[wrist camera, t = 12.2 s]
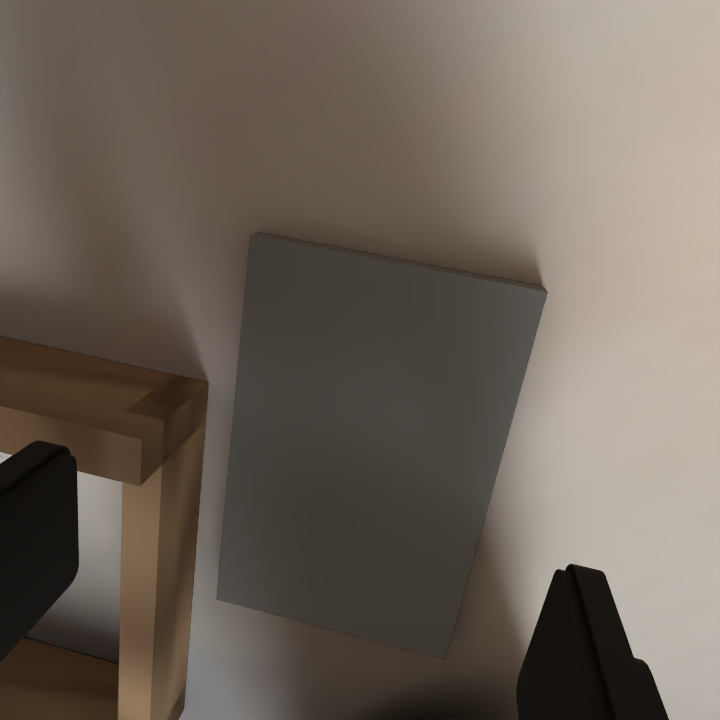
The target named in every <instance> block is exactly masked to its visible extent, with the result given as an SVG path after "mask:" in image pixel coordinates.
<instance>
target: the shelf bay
mask: <svg viewBox="0 0 720 720" xmlns="http://www.w3.org/2000/svg"><path fill="white" fill-rule="evenodd" d="M207 395H208V383H207V382H203V381H198V380H194V379H189V378H185V377H180V376H176V375H171V374H167V373H162V372H158V371H153V370H149V369H144V368H140V367H135V366H131V365H126V364H122V363H117V362H113V361H108V360H104V359H99V358H95V357H90V356H86V355H81V354H77V353H72V352H68V351H63V350H59V349H54V348H50V347H45V346H41V345H36V344H32V343H27V342H23V341H18V340H14V339H9V338H5V337H0V452H3V453H7V454H11V455H14V454H16V453H17V452H18V451H20V450H21V449H23V448H24V447H26V446H27V445H29V444H30V443H32V442H34V441H39V440H40V441H45V442H49V443H53V444H58V445H62V446H66V447H67V448H68V449H69V450H70V453H71V455H72V456H74V457H75V458H76V461H77V471H80V472H84V473H88V474H92V475H96V476H100V477H104V478H108V479H112V480H116V481H121V482H123V502H122V549H121V597H120V644H119V664H116V663H112V662H109V661H105V660H102V659H98V658H95V657H91V656H88V655H84V654H80V653H77V652H73V651H70V650H66V649H63V648H59V647H56V646H52V645H49V644H45V643H42V642H38V641H35V640H31V639H27V638H24V637H23V638H22V639H21V640H20V641H19V642H18V644H17V645H16V646H15V647H14V648H13V649H12V650H11V651H10V652H9V654H8V655H7V656H6V657H5V658H4V659H3V660H2V661H1V662H0V720H178V719H179V717H180V716H181V714H182V712H183V710H184V702H185V689H186V675H187V662H188V649H189V635H190V622H191V609H192V595H193V582H194V569H195V555H196V542H197V529H198V515H199V502H200V489H201V475H202V462H203V449H204V435H205V422H206V409H207Z"/></svg>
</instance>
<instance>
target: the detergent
mask: <svg viewBox="0 0 720 720" xmlns="http://www.w3.org/2000/svg"><path fill="white" fill-rule="evenodd" d="M420 720H461V719H458V718H454V717H448V716H440V715H434V716H431V717H428V718H421V719H420Z"/></svg>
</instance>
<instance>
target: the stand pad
mask: <svg viewBox="0 0 720 720" xmlns="http://www.w3.org/2000/svg"><path fill="white" fill-rule="evenodd" d="M546 296H547V290H546V289H545V287H543V286H538V285H532V284H527V283H522V282H517V281H511V280H506V279H501V278H496V277H490V276H485V275H480V274H475V273H470V272H464V271H459V270H454V269H449V268H443V267H438V266H433V265H428V264H422V263H417V262H412V261H407V260H401V259H396V258H391V257H386V256H380V255H375V254H370V253H365V252H359V251H354V250H349V249H344V248H339V247H333V246H328V245H323V244H318V243H312V242H307V241H302V240H297V239H291V238H286V237H281V236H276V235H270V234H265V233H260V232H258V233H255V234H252V235H250V243H249V253H248V264H247V275H246V285H245V296H244V307H243V318H242V328H241V339H240V350H239V361H238V371H237V382H236V393H235V404H234V414H233V425H232V436H231V447H230V457H229V468H228V479H227V490H226V500H225V511H224V522H223V532H222V543H221V554H220V565H219V575H218V586H217V597H216V599H217V600H221V601H225V602H229V603H232V604H236V605H240V606H244V607H248V608H251V609H255V610H259V611H263V612H266V613H270V614H274V615H278V616H282V617H285V618H289V619H293V620H297V621H300V622H304V623H308V624H312V625H316V626H319V627H323V628H327V629H331V630H334V631H338V632H342V633H346V634H349V635H353V636H357V637H361V638H365V639H368V640H372V641H376V642H380V643H383V644H387V645H391V646H395V647H399V648H402V649H406V650H410V651H414V652H417V653H421V654H425V655H429V656H433V657H436V658H440V659H444V660H445V659H446V656H447V652H448V649H449V645H450V641H451V638H452V634H453V631H454V627H455V623H456V620H457V616H458V613H459V609H460V605H461V602H462V598H463V595H464V591H465V587H466V584H467V580H468V577H469V573H470V570H471V566H472V562H473V559H474V555H475V552H476V548H477V544H478V541H479V537H480V534H481V530H482V526H483V523H484V519H485V516H486V512H487V508H488V505H489V501H490V498H491V494H492V490H493V487H494V483H495V480H496V476H497V472H498V469H499V465H500V462H501V458H502V454H503V451H504V447H505V444H506V440H507V436H508V433H509V429H510V426H511V422H512V418H513V415H514V411H515V408H516V404H517V400H518V397H519V393H520V390H521V386H522V382H523V379H524V375H525V372H526V368H527V364H528V361H529V357H530V354H531V350H532V346H533V343H534V339H535V336H536V332H537V328H538V325H539V321H540V318H541V314H542V310H543V307H544V303H545V300H546Z"/></svg>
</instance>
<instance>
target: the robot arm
mask: <svg viewBox="0 0 720 720" xmlns="http://www.w3.org/2000/svg"><path fill="white" fill-rule="evenodd" d="M78 567H79V547H78V497H77V461H76V458H75V457H74V456H72V455H71V453H70V450H69V449H68V448H67V447H66V446H62V445H58V444H53V443H49V442H45V441H40V440H39V441H34V442H32V443H30V444H29V445H27V446H26V447H24V448H23V449H21V450H20V451H18V452H17V453H16V454H14V455H13V456H11V457H10V458H8V459H7V460H5V461H4V462H2V463H1V464H0V662H1V661H2V660H3V659H4V658H5V657H6V656H7V655H8V654H9V652H10V651H11V650H12V649H13V648H14V647H15V646H16V645H17V644H18V642H19V641H20V640H21V639H22V638H23V637H24V636H25V635H26V634H27V632H28V631H29V630H30V629H31V628H32V627H33V626H34V625H35V624H36V622H37V621H38V620H39V619H40V618H41V617H42V616H43V615H44V614H45V612H46V611H47V610H48V609H49V608H50V607H51V606H52V605H53V604H54V603H55V601H56V600H57V599H58V598H59V597H60V596H61V595H62V594H63V593H64V591H65V590H66V589H67V588H68V587H69V586H70V585H71V583H72V582H73V580H74V579H75V577H76V574H77V571H78ZM516 698H517V709H518V718H519V720H669V719H668V716H667V713H666V711H665V708H664V705H663V703H662V700H661V697H660V694H659V692H658V689H657V686H656V684H655V681H654V678H653V676H652V673H651V671H650V669H649V667H648V665H647V664H646V663H645V662H644V661H643V660H641V659H636V658H634V657H633V654H632V651H631V648H630V645H629V642H628V639H627V637H626V634H625V631H624V628H623V625H622V622H621V619H620V616H619V613H618V611H617V608H616V605H615V602H614V599H613V596H612V593H611V590H610V588H609V585H608V582H607V579H606V576H605V574H604V572H602V571H600V570H596V569H591V568H587V567H583V566H579V565H574V564H569V565H568V566H567V567H566V570H565V571H564V570H559V569H558V570H556V571H555V573H554V576H553V578H552V581H551V584H550V587H549V590H548V593H547V596H546V599H545V601H544V604H543V607H542V610H541V613H540V616H539V619H538V622H537V625H536V627H535V630H534V633H533V636H532V639H531V642H530V645H529V648H528V651H527V653H526V656H525V659H524V662H523V665H522V668H521V671H520V674H519V677H518V682H517V690H516Z"/></svg>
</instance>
